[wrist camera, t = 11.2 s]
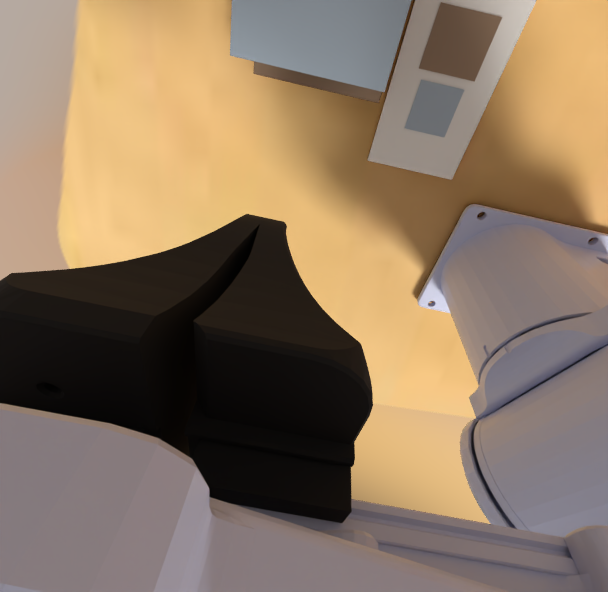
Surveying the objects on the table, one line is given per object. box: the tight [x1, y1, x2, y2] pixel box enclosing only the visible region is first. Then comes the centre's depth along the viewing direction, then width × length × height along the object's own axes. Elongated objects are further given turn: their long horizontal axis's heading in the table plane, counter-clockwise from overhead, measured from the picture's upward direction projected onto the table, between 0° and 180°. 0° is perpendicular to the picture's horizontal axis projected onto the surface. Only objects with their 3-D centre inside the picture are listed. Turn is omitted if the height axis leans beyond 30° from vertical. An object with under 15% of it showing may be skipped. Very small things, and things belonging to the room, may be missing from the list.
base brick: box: [254, 61, 382, 103], centre depth 14 cm, size 6×6×2 cm
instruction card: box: [368, 0, 536, 180], centre depth 16 cm, size 5×8×1 cm, turn 169°
